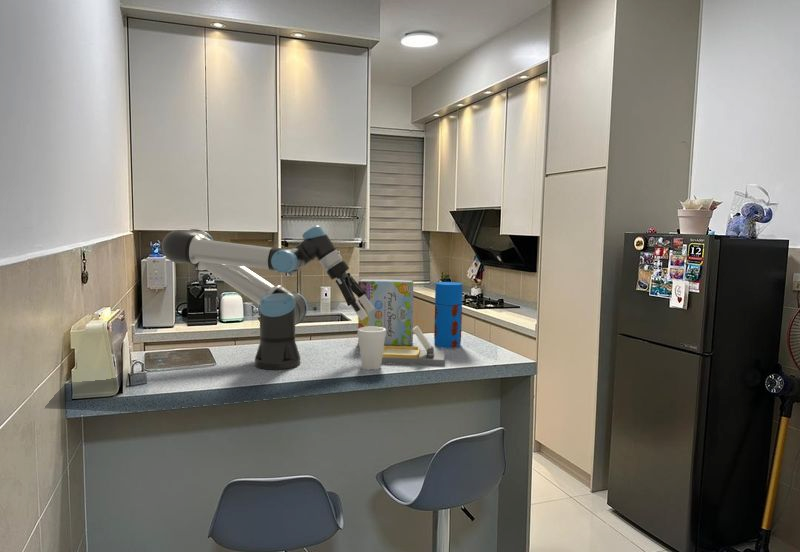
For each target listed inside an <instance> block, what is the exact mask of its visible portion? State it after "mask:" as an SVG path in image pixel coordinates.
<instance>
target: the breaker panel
mask: <svg viewBox="0 0 800 552" xmlns="http://www.w3.org/2000/svg"><path fill="white" fill-rule="evenodd" d="M386 363H395V364H394V365H414V364H419V365H418V366H421V365H422V366H441V365H443V367H445V350H443V349H442V350H441V349H440V350H439V349H434V352H433V354H431V353H428V354H427V351H426V349H421V346H411V345H410V346H408V345H384V349H383V356H382V363H381V364H386Z"/></svg>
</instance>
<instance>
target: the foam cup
mask: <svg viewBox="0 0 800 552" xmlns="http://www.w3.org/2000/svg"><path fill="white" fill-rule="evenodd" d="M385 337H386V329H385V328H382V327H361V328H357V339H359V344H358V345H359V346H358V347H359V354H360V362H361V368H362V369H363V370H369V371H370V369H375V370H379V368H380V367H382V364H383V363H382V356H383V349H384V342H385ZM380 369H381V368H380Z"/></svg>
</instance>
